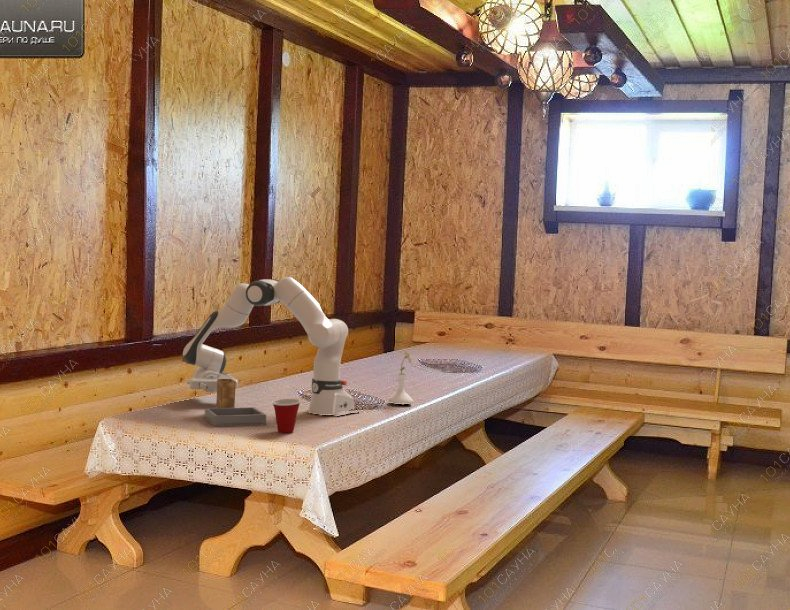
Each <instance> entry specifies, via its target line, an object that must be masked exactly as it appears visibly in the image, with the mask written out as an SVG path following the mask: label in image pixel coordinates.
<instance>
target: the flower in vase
mask: <svg viewBox="0 0 790 610" xmlns="http://www.w3.org/2000/svg"><path fill="white" fill-rule="evenodd" d="M403 353H404V358H403V360H402V362H401V364H400V369H399V371H400V372H397V373H396V376H397V379H398V389H397V391H395V392H394V393H393V394H391V395H390V396H389V397H388V398H387V402H388V401H389V402H393V403H411V402H413V403H414V400H413V398H412V397H411V396H410V395H409V394H408V393H407V392H406V391H405V389H404V388H405V387H404V385H405V380H406V377H407V376H408V373H406V372H405V373H404V372H403V371H404V370H406V367H405V366H403V363H404V361H405V360H407V361H408V363H409V364H410V365H412V364H413V360H412V358H411V357H410V354H409V353H408V350H407V349H406V348H405V347H404V348H403ZM389 402H388V403H389Z"/></svg>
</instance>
